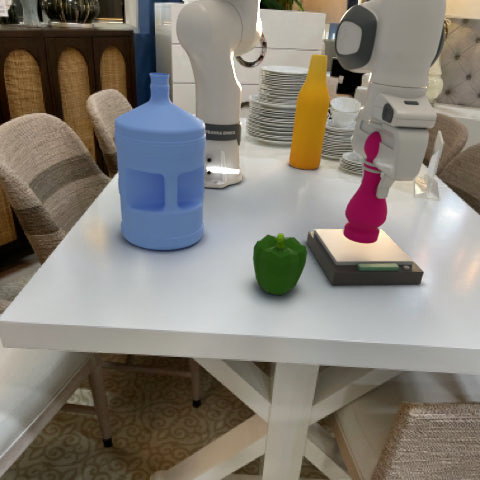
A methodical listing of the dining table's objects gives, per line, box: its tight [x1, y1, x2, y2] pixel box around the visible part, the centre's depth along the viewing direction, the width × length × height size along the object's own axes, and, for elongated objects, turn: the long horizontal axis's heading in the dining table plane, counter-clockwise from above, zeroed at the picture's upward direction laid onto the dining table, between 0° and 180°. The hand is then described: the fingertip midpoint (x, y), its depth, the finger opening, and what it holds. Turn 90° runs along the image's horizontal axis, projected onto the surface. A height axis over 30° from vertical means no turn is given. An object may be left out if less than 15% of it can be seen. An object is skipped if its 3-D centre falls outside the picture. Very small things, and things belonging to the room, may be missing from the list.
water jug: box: [114, 72, 206, 251], centre depth 84 cm, size 16×16×28 cm
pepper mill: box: [343, 131, 388, 244], centre depth 80 cm, size 7×7×20 cm
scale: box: [306, 228, 425, 286], centre depth 87 cm, size 16×17×3 cm
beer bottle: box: [288, 53, 331, 171], centre depth 133 cm, size 9×9×29 cm
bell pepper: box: [252, 232, 308, 296], centre depth 75 cm, size 8×8×10 cm
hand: (373, 191), depth 81 cm, fingers closed on pepper mill, 5 cm apart
